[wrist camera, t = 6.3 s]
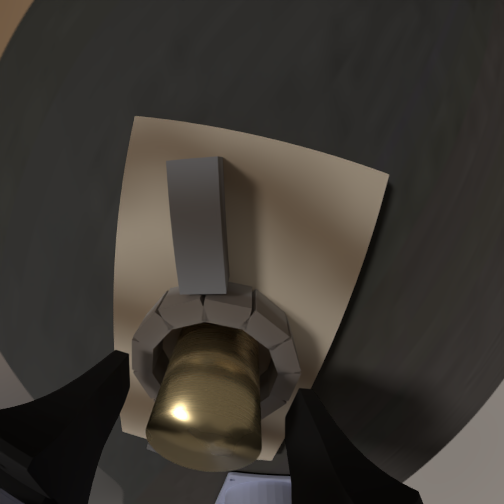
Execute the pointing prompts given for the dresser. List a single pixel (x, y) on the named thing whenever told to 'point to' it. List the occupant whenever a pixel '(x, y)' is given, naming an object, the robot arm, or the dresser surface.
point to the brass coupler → (209, 401)
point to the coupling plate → (236, 255)
